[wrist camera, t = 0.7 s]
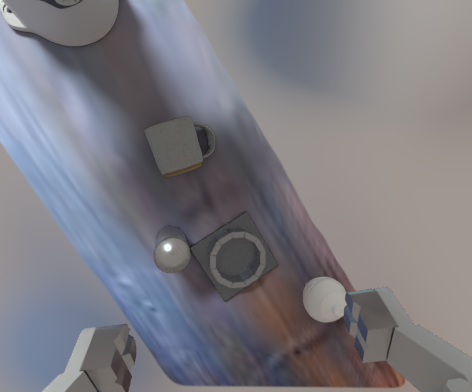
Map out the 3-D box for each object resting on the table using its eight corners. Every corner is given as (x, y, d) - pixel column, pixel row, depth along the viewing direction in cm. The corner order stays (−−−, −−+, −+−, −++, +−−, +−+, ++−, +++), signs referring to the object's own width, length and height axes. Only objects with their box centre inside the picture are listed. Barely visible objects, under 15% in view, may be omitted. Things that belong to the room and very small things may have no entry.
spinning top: (285, 270, 58) (315, 296, 47) (320, 260, 60) (358, 283, 48) (291, 307, 59) (322, 341, 48) (326, 296, 61) (364, 327, 49)
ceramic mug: (162, 179, 51) (163, 180, 44) (144, 132, 50) (142, 125, 43) (220, 159, 54) (230, 157, 46) (204, 113, 52) (212, 104, 45)
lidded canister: (149, 235, 52) (146, 251, 42) (175, 219, 53) (178, 231, 43) (165, 260, 53) (166, 280, 43) (191, 243, 54) (197, 260, 44)
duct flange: (189, 247, 54) (191, 251, 51) (246, 211, 55) (250, 213, 53) (223, 300, 56) (226, 306, 54) (277, 263, 58) (282, 268, 55)
